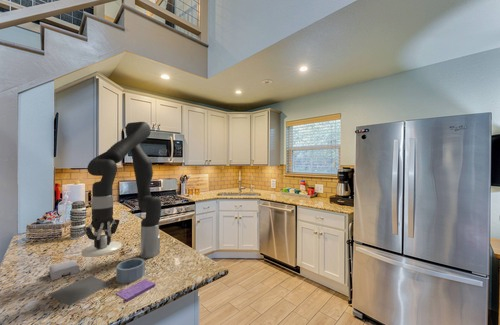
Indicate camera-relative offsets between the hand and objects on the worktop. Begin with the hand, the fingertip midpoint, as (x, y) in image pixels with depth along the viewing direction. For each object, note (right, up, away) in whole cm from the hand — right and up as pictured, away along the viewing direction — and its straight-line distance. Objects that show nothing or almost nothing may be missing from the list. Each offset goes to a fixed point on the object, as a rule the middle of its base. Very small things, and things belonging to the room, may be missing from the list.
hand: (102, 246), depth 89 cm
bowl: (+9, -17, +6) cm, 20 cm away
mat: (-5, -16, -4) cm, 18 cm away
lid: (0, -1, 0) cm, 1 cm away
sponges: (+17, -18, -4) cm, 24 cm away
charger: (-26, -17, +10) cm, 32 cm away
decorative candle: (-58, -17, +57) cm, 83 cm away
